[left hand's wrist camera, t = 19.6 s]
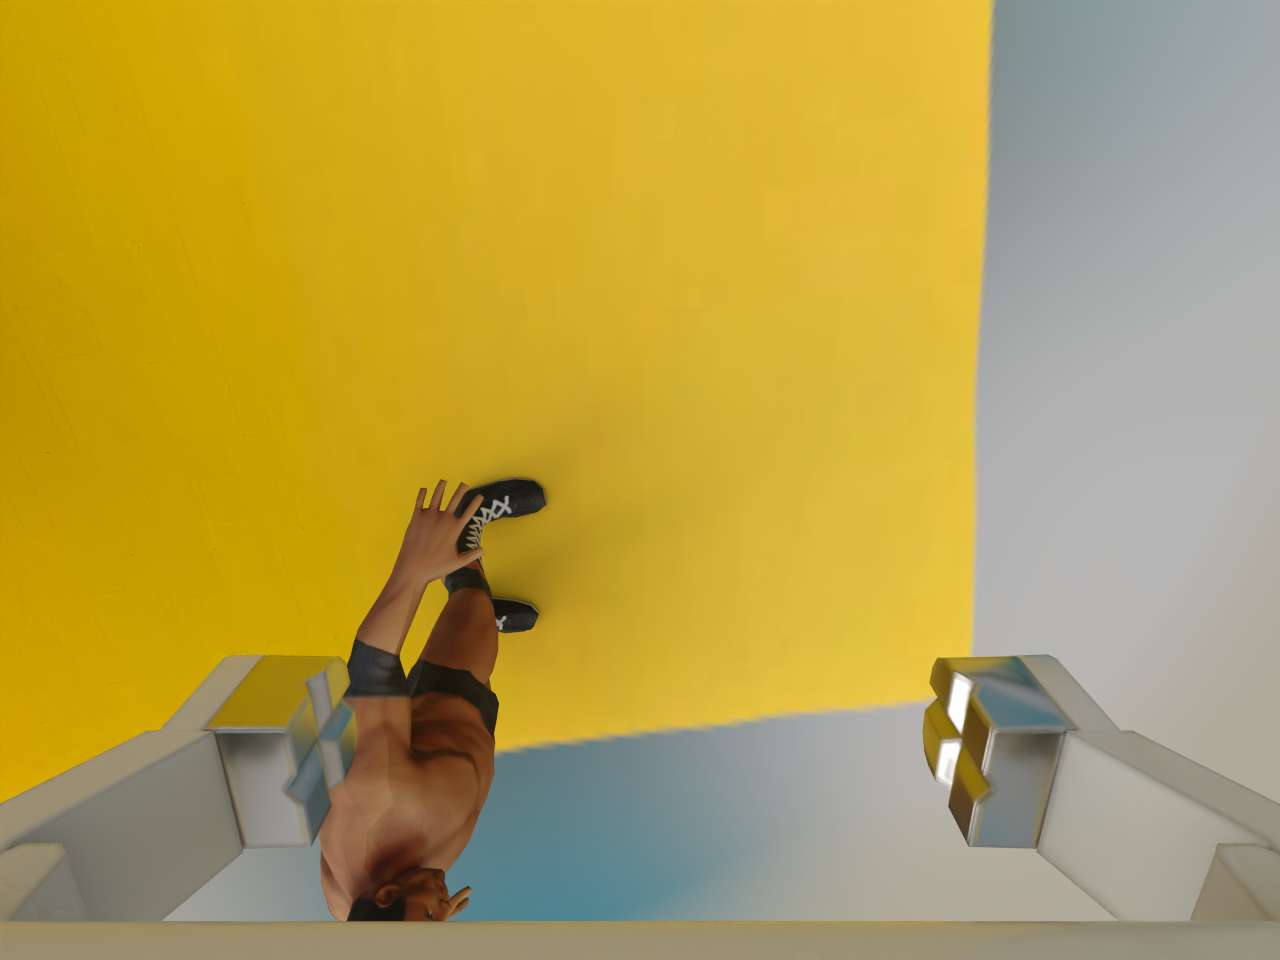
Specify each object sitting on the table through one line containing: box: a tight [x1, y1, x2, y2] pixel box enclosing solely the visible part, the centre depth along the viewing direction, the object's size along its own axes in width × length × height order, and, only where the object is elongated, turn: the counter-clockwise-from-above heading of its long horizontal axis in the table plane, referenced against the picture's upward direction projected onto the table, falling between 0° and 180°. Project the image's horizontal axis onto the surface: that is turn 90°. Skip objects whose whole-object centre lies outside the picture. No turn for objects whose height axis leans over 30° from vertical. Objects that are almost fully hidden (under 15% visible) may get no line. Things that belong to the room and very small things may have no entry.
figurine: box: [319, 478, 547, 921], centre depth 38 cm, size 24×6×30 cm, turn 174°
